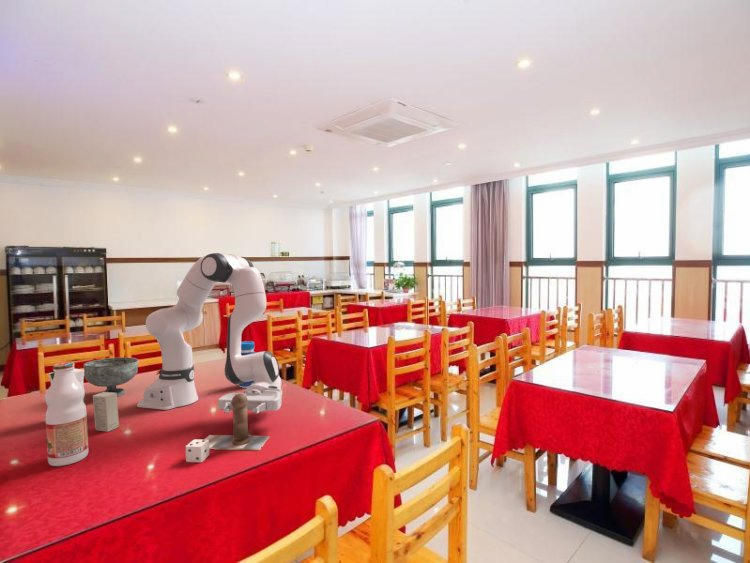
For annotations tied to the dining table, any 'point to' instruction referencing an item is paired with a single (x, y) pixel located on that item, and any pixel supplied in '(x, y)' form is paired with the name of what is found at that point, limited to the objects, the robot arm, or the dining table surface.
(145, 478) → the dining table surface
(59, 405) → the fruit juice
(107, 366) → the bowl
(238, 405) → the pawn
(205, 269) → the robot arm
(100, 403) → the skincare box
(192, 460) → the die
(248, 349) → the beverage bottle
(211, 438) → the board
